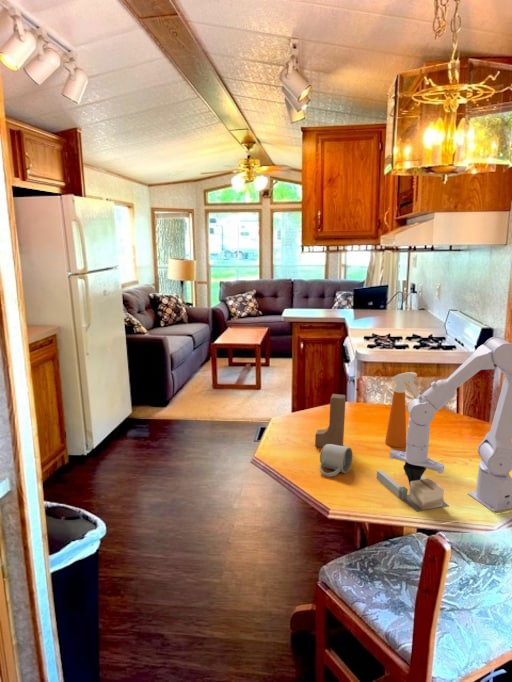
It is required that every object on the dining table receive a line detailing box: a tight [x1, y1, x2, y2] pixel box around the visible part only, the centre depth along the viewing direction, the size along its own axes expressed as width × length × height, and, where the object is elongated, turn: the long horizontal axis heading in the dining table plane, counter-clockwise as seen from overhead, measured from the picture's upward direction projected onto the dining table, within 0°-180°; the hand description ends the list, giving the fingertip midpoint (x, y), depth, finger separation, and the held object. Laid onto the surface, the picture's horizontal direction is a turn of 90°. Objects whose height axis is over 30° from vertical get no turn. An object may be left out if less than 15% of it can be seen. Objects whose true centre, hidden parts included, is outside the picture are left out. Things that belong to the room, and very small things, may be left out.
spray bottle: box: [384, 371, 420, 448], centre depth 162 cm, size 7×11×26 cm, turn 46°
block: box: [408, 477, 445, 511], centre depth 127 cm, size 6×6×5 cm
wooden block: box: [314, 393, 347, 448], centre depth 162 cm, size 9×4×18 cm, turn 72°
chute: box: [376, 469, 427, 501], centre depth 136 cm, size 13×11×3 cm
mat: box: [403, 494, 450, 513], centre depth 128 cm, size 8×10×1 cm
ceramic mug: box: [319, 444, 353, 478], centre depth 145 cm, size 11×8×8 cm
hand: (413, 488), depth 133 cm, fingers closed
